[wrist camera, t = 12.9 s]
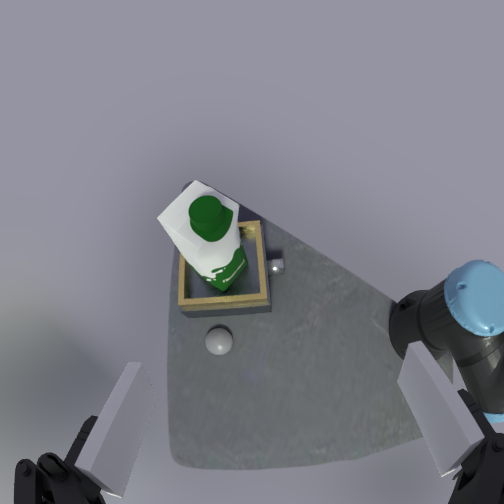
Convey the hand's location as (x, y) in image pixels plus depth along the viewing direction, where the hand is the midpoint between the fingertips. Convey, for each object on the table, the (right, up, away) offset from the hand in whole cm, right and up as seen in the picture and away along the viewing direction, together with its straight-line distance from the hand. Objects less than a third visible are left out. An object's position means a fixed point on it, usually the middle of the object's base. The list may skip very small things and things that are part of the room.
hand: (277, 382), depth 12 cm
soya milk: (-7, +3, +38) cm, 39 cm away
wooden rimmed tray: (-5, +1, +43) cm, 43 cm away
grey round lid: (-7, -11, +37) cm, 39 cm away
